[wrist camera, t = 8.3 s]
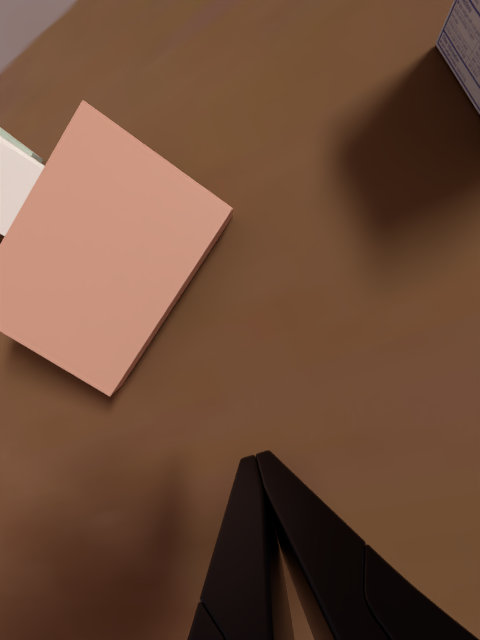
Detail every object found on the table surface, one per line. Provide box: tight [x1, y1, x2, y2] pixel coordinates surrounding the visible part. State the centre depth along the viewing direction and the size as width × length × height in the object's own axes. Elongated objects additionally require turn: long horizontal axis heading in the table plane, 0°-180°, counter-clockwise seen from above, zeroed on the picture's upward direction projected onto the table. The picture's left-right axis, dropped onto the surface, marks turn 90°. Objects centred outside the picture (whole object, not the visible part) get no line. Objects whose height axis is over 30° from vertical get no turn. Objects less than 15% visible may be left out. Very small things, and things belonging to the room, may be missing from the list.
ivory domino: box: [0, 142, 43, 236], centre depth 18 cm, size 2×5×10 cm
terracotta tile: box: [0, 100, 233, 396], centre depth 17 cm, size 2×14×10 cm
